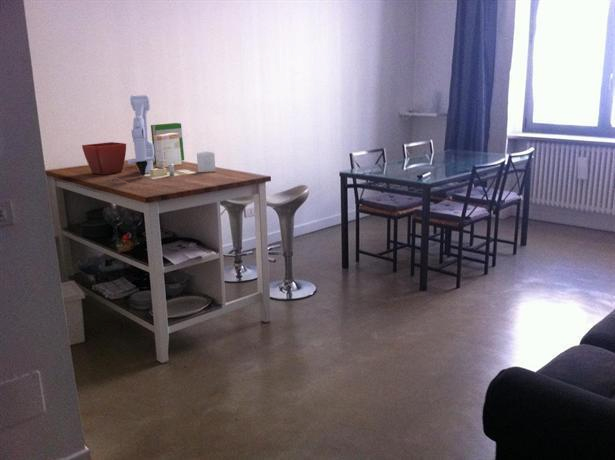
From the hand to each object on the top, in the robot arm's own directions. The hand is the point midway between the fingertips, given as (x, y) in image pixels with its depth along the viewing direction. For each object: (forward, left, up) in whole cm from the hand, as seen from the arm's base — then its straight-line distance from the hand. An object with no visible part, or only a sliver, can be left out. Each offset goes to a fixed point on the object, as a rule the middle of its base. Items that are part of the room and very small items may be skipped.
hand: (142, 175), depth 330 cm
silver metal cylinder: (+7, +14, -1) cm, 16 cm away
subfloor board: (+1, +15, -2) cm, 15 cm away
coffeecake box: (-36, +29, -2) cm, 46 cm away
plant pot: (-37, -9, -2) cm, 38 cm away
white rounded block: (+6, +35, -2) cm, 36 cm away
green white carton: (-54, +36, -2) cm, 65 cm away
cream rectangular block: (0, +9, -1) cm, 9 cm away
